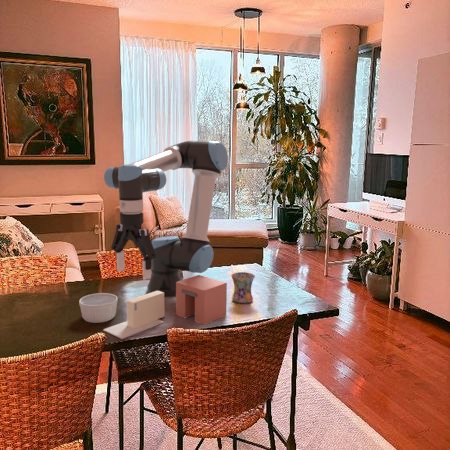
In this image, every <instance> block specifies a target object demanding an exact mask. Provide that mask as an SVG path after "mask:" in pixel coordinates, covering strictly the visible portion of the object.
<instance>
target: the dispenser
mask: <svg viewBox="0 0 450 450" xmlns="http://www.w3.org/2000/svg"><path fill="white" fill-rule="evenodd" d="M227 290H228V283H227V282H226V281H223V280H219V279H215V278H211V277H208V276H204V275H201V274H198V275H194V276H191V277H188V278H184V279H181V281H178V282H176V295H175V314H176V316H178V317H180V318H184V319H186V318H189V317H191V316H193V315H194V322H195V323H198V324H201V325H203V326H205V325H207V324H209V323H212V322H214V321H216V320H219V319H221V318H223V317H225V316H227V299H228V296H227V295H228V294H227V293H228V292H227Z"/></svg>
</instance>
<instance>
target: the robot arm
mask: <svg viewBox="0 0 450 450" xmlns="http://www.w3.org/2000/svg"><path fill="white" fill-rule="evenodd" d="M228 163H229V155H228V151H227V148H226V146H225V145H224V144H223V142H221V141H218V140H217V141H215V140H188V141H187V140H186V141H183V142H180V143H177V144H174V145H170V146H167V147H166V148H164V150H163V151H162V152H158V153H156V154H153V155H150V156H147V157H145V158H142V159H139V160H137V161H135V162H131V163H128V164H121V165H119V166H118V167H117V166H111V167H108V168H107V169H105V171H104V175H103V179H104V184H105V185H106V186H107V187H108V188H111V189H116V190H117V189H118V193H119V194H118V196H119V199H118V200H119V212H120V214H119V223H120V224H119V223H118V224H116V226H115V229H116V230H115V234H114V237H113V241H112V244H111V248H110V249H111V250H112V251H114V253H115V260H116V272H122V271H126V269H125V266H126V265H125V262H126V261H125V250H124V248H125V247H126V245H127V243H128V242H129V241H131V242H134V244H136V246H137V248H138V250H139V252H140V253H141V256H142V258H143V259H142V261H141V262H142V280H144V281H145V280H148V284H147V294H148V293H152V292H155V291H161V292H164V297H169V296H176V282H178V281H181V280H182V277H181V274H180V271H182V272H183V271H184V272H189V273H193V274H195V273H197V274H203V273H205V272H206V271H207V270H208V269H209V268H210V267H211V265H212V262H213V260H214V249H213V247H212V246H211V245H210V242H211V241H210V239H209V238H208V231H209V225H210V217H211V212H212V205H213V197H214V192H215V185H216V180H217V178H219V177H220V176H221V171H224V170H226V169H227V166H228ZM178 169H191V172H192V174H193V175H194V180H193V187H192V194H191V198H190V205H189V211H188V212H189V213H188V219H187V224H186V230H185V234H182V236H181V239H180V238H179V236H178V235H167V236H161V237H160V236H159V237H156V238H153V239H152V240H151V237H150V231H149V229H148V228H143V229H142V225H144V213H143V211H144V201H143V200H144V198H143V197H144V196H143V193H145V192H146V193H147V192H156V191H159V190H162V189H163V188H164V187H165V186H166V184H167V175H166V173H165V172H167V171H170V170H172V171H176V170H178Z"/></svg>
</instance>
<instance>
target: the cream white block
mask: <svg viewBox="0 0 450 450" xmlns="http://www.w3.org/2000/svg"><path fill="white" fill-rule="evenodd" d="M165 316H166V315H165V296H164V292H161V291H155V292H152V293H148V292H147V293H146V294H143V295H139V296H136V297H132V298H129V299H128V300H126V321H127V326H130V327H132V328H136V327H138V326H141V325H144V324H146V323H149V322H151V321H154V320H157V319H158V320H160V319H162V318H164V317H165Z"/></svg>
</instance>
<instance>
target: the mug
mask: <svg viewBox="0 0 450 450" xmlns="http://www.w3.org/2000/svg"><path fill="white" fill-rule="evenodd" d="M230 277H231V279H232V281H233V285H234V287H233V288H234V289H233V295H232V298H231V299H232V301H233V302H234V303H238V304H248V303H250V302H252V301H254V297H253V295H252V285H253V281H254V279H255V277H256V276H255V274H253V273H251V272H245V271H240V272H239V271H238V272H234V273H232V274H231V276H230Z"/></svg>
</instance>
